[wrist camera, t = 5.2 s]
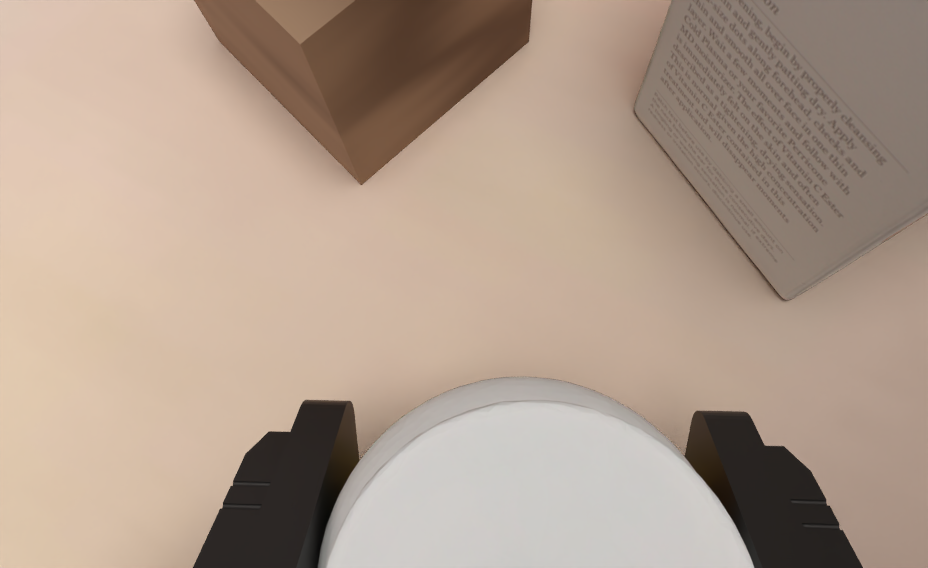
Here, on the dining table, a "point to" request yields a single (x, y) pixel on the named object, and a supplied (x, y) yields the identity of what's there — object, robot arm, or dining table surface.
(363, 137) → the walnut cube
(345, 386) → the dining table surface
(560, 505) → the supplement bottle
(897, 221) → the small box
